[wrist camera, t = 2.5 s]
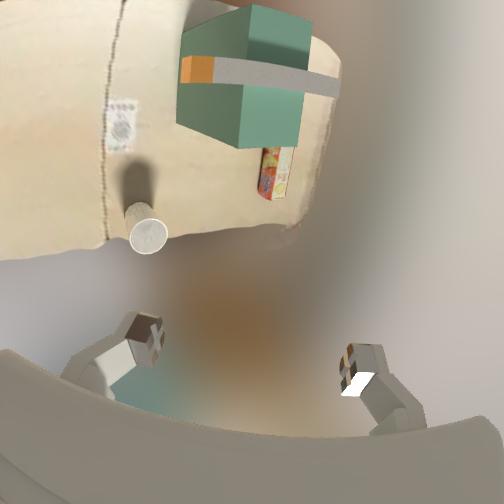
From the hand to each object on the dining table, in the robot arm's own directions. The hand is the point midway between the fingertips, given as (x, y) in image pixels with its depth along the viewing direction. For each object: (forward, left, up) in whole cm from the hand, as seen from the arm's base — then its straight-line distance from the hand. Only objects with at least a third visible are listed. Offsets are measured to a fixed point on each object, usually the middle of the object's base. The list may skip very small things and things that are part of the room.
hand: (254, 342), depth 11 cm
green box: (+21, +2, -51) cm, 55 cm away
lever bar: (+20, +3, -25) cm, 32 cm away
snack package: (+31, -24, -51) cm, 65 cm away
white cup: (-5, -19, -51) cm, 55 cm away
